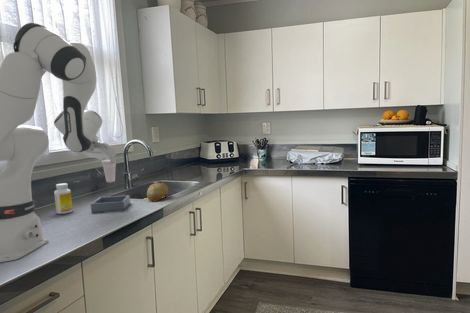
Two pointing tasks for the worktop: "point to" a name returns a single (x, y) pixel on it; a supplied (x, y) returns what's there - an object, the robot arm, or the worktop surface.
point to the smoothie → (109, 170)
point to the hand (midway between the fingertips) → (110, 161)
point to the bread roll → (157, 191)
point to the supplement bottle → (63, 199)
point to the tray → (110, 204)
